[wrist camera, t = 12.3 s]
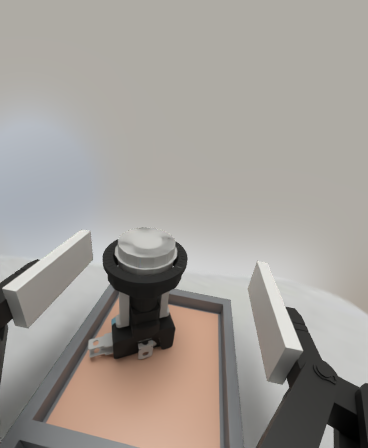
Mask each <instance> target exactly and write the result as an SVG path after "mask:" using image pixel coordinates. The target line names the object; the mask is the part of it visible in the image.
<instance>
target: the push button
mask: <svg viewBox="0 0 368 448" xmlns="http://www.w3.org/2000/svg"><path fill="white" fill-rule="evenodd" d="M117 265H118V266H117ZM186 265H187V254H186V251H185V250H184V248H183V247H182V246H181V245H180V244H179V243H177V242H176V241H175V240H174V238H173V237H172V235H170V234H168V233H167V232H165V231H163V230H159V229H156V228H137V229H132V230H129V231H127V232H125V233H123V234H122V235H121V236H120V238H119V239H117V240H116V241H114V242H113V243H111V244H110V245H109V246H108V247H107V248H106V249H105V251H104V253H103V267H104V269H105V271H106V273H107V274H108V281H109V282H110V284H111V285H112V287H113V289H114V290H116V291H119V314H118V315H117V316H116V317H114V318H113V319H112V320H111V325H112V332H111V333H107V334H104V336H102V337H98V338H94V339H90V340H89V343H88V350H89V357H90V358H91V357H95V356H99V355H102V354H105V356H106V355H109V354H113V356H114V359H119V358H122V357H126V356H129V355H133V354H136V353H138V359H140V360H141V359H144V358H147V357H150V356H151V355H152V352H153V348H156V347H159V346H161V349H162V350H165V349H168V348H170V347H172V346H173V341H174V335H175V329H176V328H175V325H174V323H173V320H172V317H171V315H170V310H169V307H168V299H169V291H170V290H172V289H174V288H176V286H177V285H178V283H179V281H180V280H181V276H182V274H183V272H184V271H185V269H186ZM173 266H174V267H173ZM95 341H98V342H99V343H98V345H96V346H94V345H93V343H94V342H95ZM96 348H99V349H100V350H99V352H98V353H94V350H95V349H96ZM144 352H148V354H146V355H142V354H143V353H144Z"/></svg>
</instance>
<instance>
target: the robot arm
mask: <svg viewBox="0 0 368 448" xmlns="http://www.w3.org/2000/svg"><path fill="white" fill-rule="evenodd" d="M91 243H92V242H91V232H90V231H86V230H80V231H79V232H78V233H76V234H75V235H74V236H72V237H71V238H69V239H68V240H67V241H65V242H64V243H63V244H61V245H60V246H59V247H57V248H56V249H55V250H53V251H52V252H50V253H49V254H48V255H46V256H45V257H44V258H42V259H41V260H38V259H37V260H35V261H32V262H30V263H28V264H26V265H25V266H23V267H22V268H21V269H20V270H18V271H16V272H15V273H14V274H12V275H11V276H9V277H8V278H7V279H5V280H4V281H2V282H1V283H0V383H1V375H2V368H3V361H4V354H5V347H6V340H7V333H8V325H7V323H8V322H9V321H10V320H11V319H13V321H14V323H15V326H19V327H24V328H29V327H30V326H31V325H32V324H33V323H34V322H35V321H36V320H37V318H38V317H39V316H40V315H41V314H42V313H43V312H44V311H45V310H46V309H47V308H48V307H49V306H50V305H51V304H52V303H53V302H54V300H55V299H56V298H57V297H58V296H59V295H60V294H61V293H62V292H63V291H64V290H65V289H66V288H67V287H68V286H69V285H70V284H71V283H72V281H73V280H74V279H75V278H76V277H77V276H78V275H79V274H80V273H81V272H82V271H83V270H84V269H85V268H86V267H87V266H88V265H89V263H90V262H91V261H92V260H93V253H92V244H91ZM248 292H249V297H250V302H251V307H252V311H253V316H254V321H255V326H256V330H257V335H258V340H259V345H260V349H261V354H262V359H263V364H264V368H265V373H266V378H267V381H268V382H273V383H277V384H282V385H283V383H284V382H285V380H286V378H287V381H288V384H289V389H288V390H287V392H286V393H285V395H284V397H283V399H282V401H281V403H280V405H279V407H278V409H277V410H276V412H275V414H274V416H273V418H272V419H271V421H270V423H269V425H268V427H267V428H266V430H265V432H264V434H263V436H262V437H261V439H260V441H259V443H258V445H257V447H256V448H319V446H320V443H321V440H322V437H323V434H324V431H325V428H326V425H327V424H328V425H330V426H331V427H333V428H334V448H368V383H365V384H363V385H362V386H361V387H358V386H356V385H354V384H352V383H350V382H348V381H346V380H344V379H342V378H340V377H338V375H337V374H336V372H335V371H334V369H333V368H332V367H331V366H330V365H329V364H327V363H326V362H325V361H323V360H322V359H321V357H320V355H319V352H318V350H317V348H316V346H315V344H314V342H313V340H312V338H311V335H310V333H308V329H307V327H306V326H305V323H304V321H303V318H302V316H301V315H300V314H299V313H298V312H297V311H296V309H295V308H290V307H285V305H284V302H283V300H282V297H281V295H280V292H279V290H278V287H277V285H276V282H275V280H274V277H273V275H272V272H271V270H270V268H269V265H268V263H266V262H260V261H257V263H256V266H255V269H254V272H253V275H252V278H251V281H250V284H249V287H248Z"/></svg>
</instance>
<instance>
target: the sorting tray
mask: <svg viewBox="0 0 368 448" xmlns="http://www.w3.org/2000/svg"><path fill="white" fill-rule="evenodd" d="M168 307H169V310H170V315H171V317H172V320H173V323H174V325H175V328H176V329H175V335H174V341H173V346H172V347H170V348H168V349H165V350H162V349H161V346H159V347H156V348H153V352H152V355H151V356H150V357H147V358H144V359H141V360H140V359H138V353H136V354H133V355H129V356H126V357H122V358H119V359H114V356H113V354H109V355H106V356H105V354H102V355H99V356H95V357H91V358H90V357H89V350H88V343H89V340H90V339H94V338H98V337H102V336H104V334H107V333H111V332H112V325H111V320H112V319H113V318H114V317H116V316H117V315H118V314H119V291H116V290H114V289H113V287H112V285H111V284H110V285H109V286H108V288H107V289H106V290H105V292H104V293H103V295H102V296H101V298H100V299H99V301H98V302H97V303H96V305H95V306H94V308H93V309H92V311H91V312H90V314H89V315H88V317H87V318H86V319H85V321H84V322H83V324H82V325H81V327H80V328H79V330H78V331H77V333H76V334H75V335H74V337H73V338H72V340H71V341H70V343H69V344H68V346H67V347H66V348H65V350H64V351H63V353H62V354H61V356H60V357H59V359H58V360H57V362H56V363H55V364H54V366H53V367H52V369H51V370H50V372H49V373H48V375H47V376H46V378H45V379H44V380H43V382H42V383H41V385H40V386H39V388H38V389H37V391H36V392H35V393H34V395H33V396H32V398H31V399H30V401H29V402H28V404H27V405H26V407H25V408H24V409H23V411H22V412H21V414H20V415H19V417H18V418H17V420H16V421H15V423H14V424H13V425H12V427H11V428H10V430H9V431H8V433H7V434H6V436H5V437H4V438H3V440H2V441H1V443H0V448H244V441H243V430H242V419H241V408H240V397H239V386H238V376H237V365H236V354H235V343H234V332H233V321H232V310H231V300H228V299H223V298H218V297H213V296H208V295H203V294H198V293H193V292H187V291H182V290H177V289H172V290H170V291H169V299H168ZM98 343H99V342H98V341H95V342H94V343H93V345H94V346H96V345H98ZM99 350H100V349H99V348H96V349H95V350H94V353H98V352H99ZM146 354H148V352H144V353H143V354H142V355H146Z"/></svg>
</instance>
